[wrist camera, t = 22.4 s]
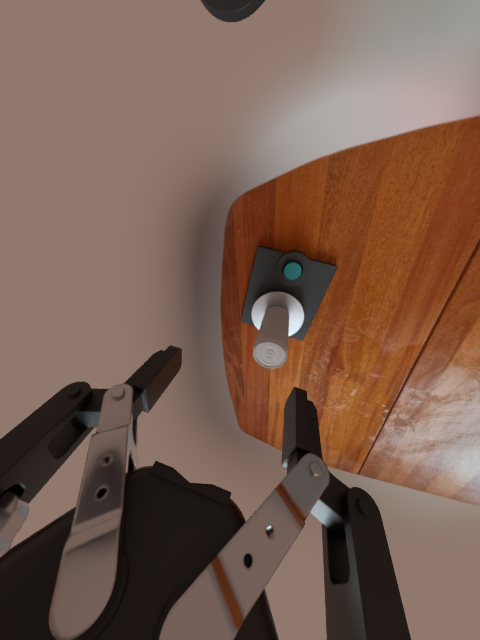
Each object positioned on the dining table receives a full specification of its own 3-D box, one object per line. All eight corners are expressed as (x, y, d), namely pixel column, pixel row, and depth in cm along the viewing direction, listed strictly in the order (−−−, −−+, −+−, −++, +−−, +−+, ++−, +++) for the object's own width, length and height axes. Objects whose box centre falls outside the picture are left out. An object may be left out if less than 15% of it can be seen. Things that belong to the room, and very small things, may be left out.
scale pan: (258, 283, 34) (258, 285, 33) (312, 298, 33) (312, 300, 32) (247, 327, 39) (246, 329, 39) (293, 342, 38) (293, 344, 37)
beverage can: (261, 323, 37) (249, 363, 27) (267, 302, 34) (255, 336, 24) (285, 329, 36) (282, 373, 26) (292, 308, 34) (292, 347, 24)
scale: (260, 240, 33) (257, 242, 31) (338, 260, 32) (342, 263, 29) (241, 318, 42) (238, 325, 39) (302, 337, 40) (303, 345, 38)
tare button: (287, 259, 31) (286, 260, 30) (303, 263, 31) (304, 265, 29) (282, 275, 33) (281, 277, 31) (297, 279, 32) (297, 281, 31)
